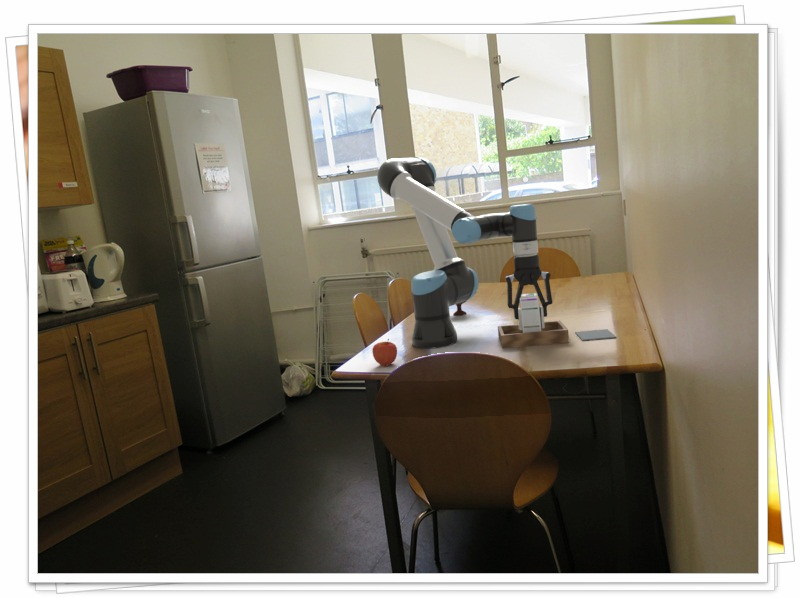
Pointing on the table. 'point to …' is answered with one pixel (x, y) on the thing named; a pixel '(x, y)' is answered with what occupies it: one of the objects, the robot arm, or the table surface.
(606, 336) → the mat
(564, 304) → the table surface
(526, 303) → the syrup box
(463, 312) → the ice cream bowl
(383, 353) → the apple
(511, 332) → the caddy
